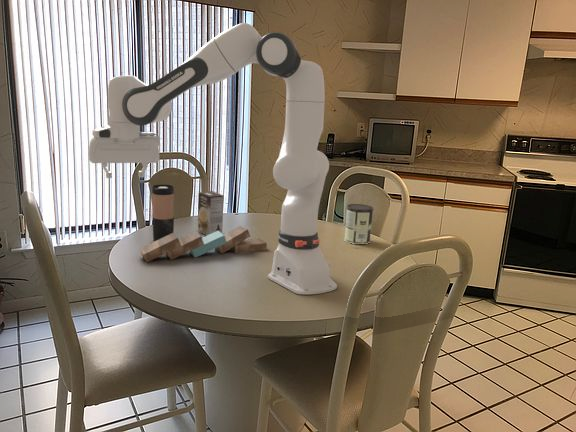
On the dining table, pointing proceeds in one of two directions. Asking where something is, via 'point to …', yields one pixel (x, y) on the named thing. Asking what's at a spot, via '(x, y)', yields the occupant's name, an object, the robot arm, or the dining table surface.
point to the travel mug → (162, 210)
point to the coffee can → (358, 224)
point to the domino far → (160, 247)
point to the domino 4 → (250, 246)
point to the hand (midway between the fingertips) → (125, 177)
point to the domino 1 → (186, 245)
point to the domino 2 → (209, 243)
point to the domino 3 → (234, 238)
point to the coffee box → (210, 212)
